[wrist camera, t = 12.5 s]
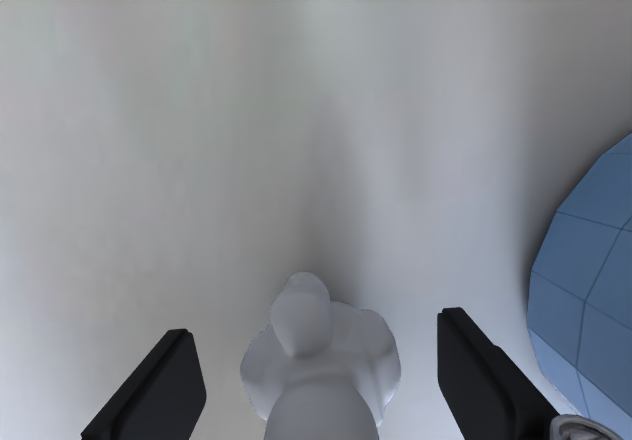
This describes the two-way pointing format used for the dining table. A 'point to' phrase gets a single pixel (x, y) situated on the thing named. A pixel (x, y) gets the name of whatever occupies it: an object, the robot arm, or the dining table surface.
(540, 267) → the bowl
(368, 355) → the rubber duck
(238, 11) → the dining table surface
